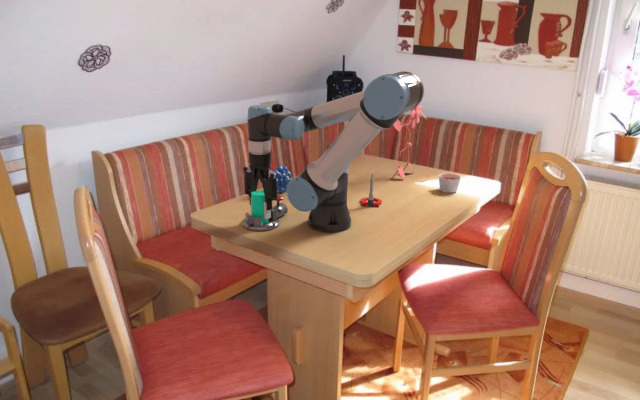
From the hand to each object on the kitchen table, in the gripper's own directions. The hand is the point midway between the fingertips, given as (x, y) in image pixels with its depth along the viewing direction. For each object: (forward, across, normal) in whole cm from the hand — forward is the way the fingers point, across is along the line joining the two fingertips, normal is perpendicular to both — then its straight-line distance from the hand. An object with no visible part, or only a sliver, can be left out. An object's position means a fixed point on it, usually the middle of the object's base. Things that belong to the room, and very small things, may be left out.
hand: (260, 216), depth 191 cm
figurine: (+3, -16, -85) cm, 87 cm away
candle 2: (+3, -37, -78) cm, 86 cm away
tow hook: (+3, -19, -44) cm, 48 cm away
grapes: (+3, +15, -31) cm, 35 cm away
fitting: (+3, 0, -3) cm, 4 cm away
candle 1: (+2, 0, 0) cm, 2 cm away
